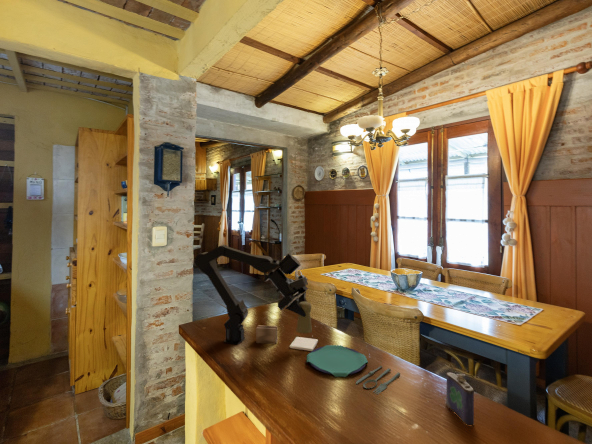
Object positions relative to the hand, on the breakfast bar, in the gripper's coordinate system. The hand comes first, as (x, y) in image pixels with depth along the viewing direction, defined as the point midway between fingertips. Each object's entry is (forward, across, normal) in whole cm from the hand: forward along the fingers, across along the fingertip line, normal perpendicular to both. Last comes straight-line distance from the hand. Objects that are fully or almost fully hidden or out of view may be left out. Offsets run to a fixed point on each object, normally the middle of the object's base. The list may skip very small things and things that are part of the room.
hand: (307, 313), depth 119 cm
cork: (+4, 0, +6) cm, 7 cm away
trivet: (+8, +2, +11) cm, 14 cm away
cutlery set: (+22, -9, -3) cm, 24 cm away
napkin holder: (-2, -1, +21) cm, 22 cm away
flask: (+44, -23, -26) cm, 56 cm away
